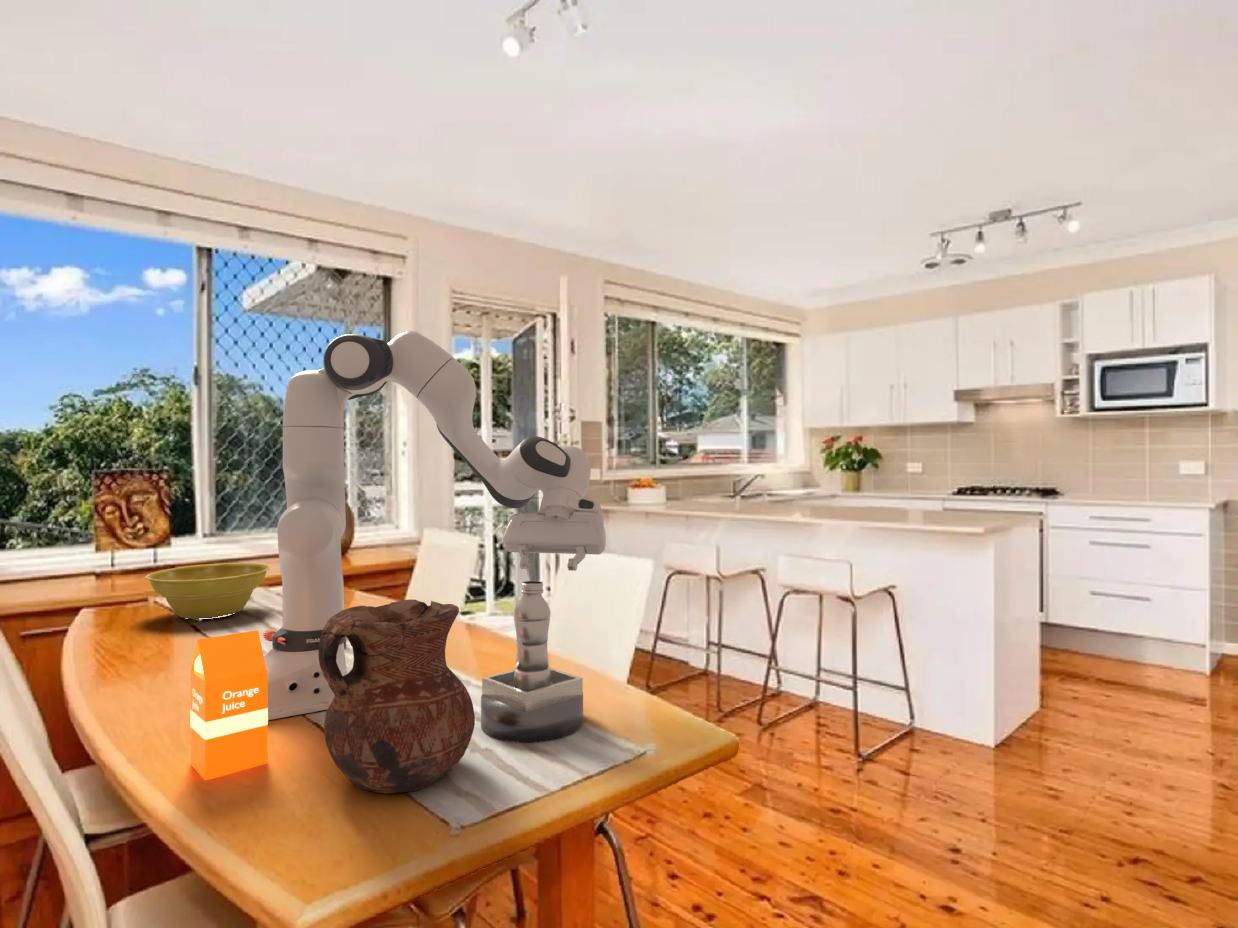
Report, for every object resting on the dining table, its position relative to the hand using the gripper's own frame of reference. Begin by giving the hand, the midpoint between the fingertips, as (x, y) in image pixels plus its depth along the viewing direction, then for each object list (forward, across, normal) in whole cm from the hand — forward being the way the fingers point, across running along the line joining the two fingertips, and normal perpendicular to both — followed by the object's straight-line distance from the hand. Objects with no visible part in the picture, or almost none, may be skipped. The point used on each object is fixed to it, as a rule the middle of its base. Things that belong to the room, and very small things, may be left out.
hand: (547, 568), depth 140 cm
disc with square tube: (+25, 0, +12) cm, 28 cm away
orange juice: (+43, -41, -6) cm, 60 cm away
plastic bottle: (+22, 0, +8) cm, 23 cm away
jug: (+42, -13, -5) cm, 45 cm away
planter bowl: (-21, -119, +58) cm, 134 cm away
